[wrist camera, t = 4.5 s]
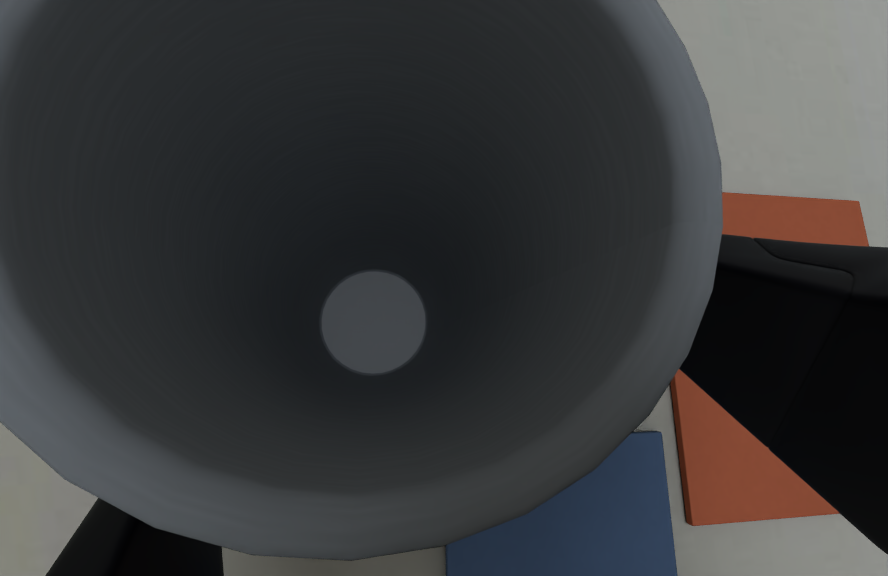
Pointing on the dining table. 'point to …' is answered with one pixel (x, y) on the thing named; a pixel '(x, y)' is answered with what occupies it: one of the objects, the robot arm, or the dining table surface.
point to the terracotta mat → (710, 426)
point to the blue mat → (585, 525)
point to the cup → (345, 256)
